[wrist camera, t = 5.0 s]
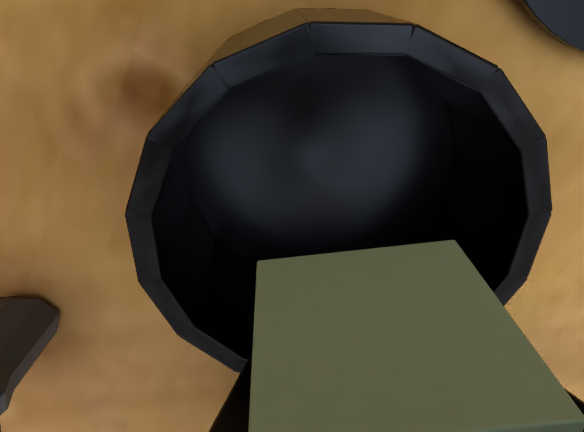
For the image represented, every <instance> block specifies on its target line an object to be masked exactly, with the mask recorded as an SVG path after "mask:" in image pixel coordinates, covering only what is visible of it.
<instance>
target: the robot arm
mask: <svg viewBox="0 0 584 432" xmlns="http://www.w3.org/2000/svg"><path fill="white" fill-rule="evenodd" d="M251 370H252V355H251V356H250V357H249V359H248V360H247V362H246V364H245V366H244V368H243V370H242V371H241V373H240V375H239V377H238V379H237V381H236V382H235V384H234V386H233V388H232V390H231V392H230V393H229V395H228V397H227V399H226V401H225V403H224V405H223V406H222V408H221V410H220V412H219V414H218V416H217V417H216V419H215V421H214V423H213V425H212V427H211V429H210V430H209V432H248V430H249V410H250V390H251ZM564 389H565V388H564ZM565 391H566V392H567V393H568V395H569V396H570V397H571V399H572V400H573V401H574V403H575V404H576V405H577V407H578V408H579V410H580V411H581V412H582V414H583V415H584V402H583V401H581V400H580V399H579V398H577V397H576V396H574V395H573V394H572V393H570V392H569V391H567V390H566V389H565ZM583 432H584V429H583Z"/></svg>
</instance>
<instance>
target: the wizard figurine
mask: <svg viewBox="0 0 584 432" xmlns="http://www.w3.org/2000/svg"><path fill="white" fill-rule="evenodd" d="M59 314H60V313H59V312H57V311H56V310H55V309H53V308H52V307H50V306H49V305H48V304H46V303H45V302H43V301H42V300H41V299H39V298H33V299H24V298H19V297H0V415H1V414H2V413H3V412H5V411H6V410H7V409H8V406H9V403H10V400H11V397H12V395H13V392H14V389H15V388H16V386H17V385H18V384H19V382H20V381H21V380H22V378H23V377H24V375H25V374H26V373H27V371H28V370H29V369H30V367H31V366H32V365H33V363H34V362H35V360H36V359H37V358H38V356H39V355H40V354H41V352H42V351H43V350H44V348H45V347H46V346H47V344H48V343H49V341H50V340H51V339H52V337H53V336H54V335H55V333H56V332H57V327H58V320H59ZM0 432H1V426H0Z"/></svg>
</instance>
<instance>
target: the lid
mask: <svg viewBox="0 0 584 432" xmlns="http://www.w3.org/2000/svg"><path fill="white" fill-rule="evenodd" d="M519 2H520V3H521V5H522V6H523V7H524V9H525V10H526V12H527V13H528V14H529V16H530V17H531V18H532V19H533V20H534V21H535V22H536V23H537V24H538V25H539V26H540V27H541V28H542V29H543V30H544V31H546V32H547V33H548V34H550V35H551V36H553V37H554V38H556V39H557V40H559V41H560V42H562V43H563V44H565V45H568V46H570V47H572V48H574V49H576V50H579V51H581V52H584V0H519Z"/></svg>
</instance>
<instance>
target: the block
mask: <svg viewBox="0 0 584 432" xmlns="http://www.w3.org/2000/svg"><path fill="white" fill-rule="evenodd" d="M583 429H584V415H583V414H582V412H581V411H580V410H579V408H578V407H577V405H576V404H575V403H574V401H573V400H572V399H571V397H570V396H569V395H568V393H567V392H566V391H565V389H564V388H563V386H562V385H561V384H560V382H559V381H558V380H557V378H556V377H555V376H554V374H553V373H552V372H551V370H550V369H549V367H548V366H547V365H546V363H545V362H544V361H543V359H542V358H541V357H540V355H539V354H538V352H537V351H536V350H535V348H534V347H533V346H532V344H531V343H530V342H529V340H528V339H527V338H526V336H525V335H524V333H523V332H522V331H521V329H520V328H519V327H518V325H517V324H516V323H515V321H514V320H513V318H512V317H511V316H510V314H509V313H508V312H507V310H506V309H505V308H504V306H503V305H502V304H501V302H500V301H499V299H498V298H497V297H496V295H495V294H494V293H493V291H492V290H491V289H490V287H489V286H488V284H487V283H486V282H485V280H484V279H483V278H482V276H481V275H480V274H479V272H478V271H477V270H476V268H475V267H474V265H473V264H472V263H471V261H470V260H469V259H468V257H467V256H466V255H465V253H464V252H463V250H462V249H461V248H460V246H459V245H458V244H457V242H456V241H455V240H446V241H436V242H427V243H418V244H409V245H399V246H390V247H381V248H372V249H362V250H353V251H344V252H334V253H325V254H316V255H307V256H297V257H288V258H279V259H269V260H260V261H258V262H257V271H256V291H255V311H254V331H253V351H252V370H251V390H250V410H249V430H248V432H583Z"/></svg>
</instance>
